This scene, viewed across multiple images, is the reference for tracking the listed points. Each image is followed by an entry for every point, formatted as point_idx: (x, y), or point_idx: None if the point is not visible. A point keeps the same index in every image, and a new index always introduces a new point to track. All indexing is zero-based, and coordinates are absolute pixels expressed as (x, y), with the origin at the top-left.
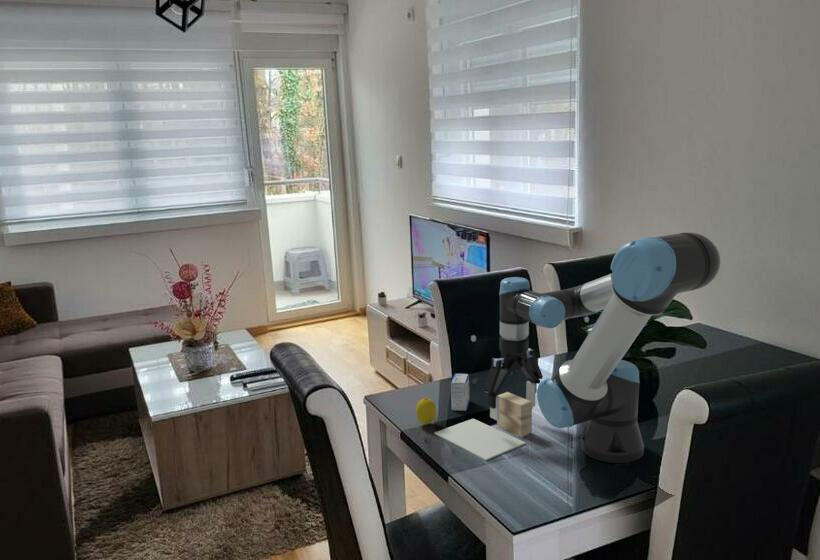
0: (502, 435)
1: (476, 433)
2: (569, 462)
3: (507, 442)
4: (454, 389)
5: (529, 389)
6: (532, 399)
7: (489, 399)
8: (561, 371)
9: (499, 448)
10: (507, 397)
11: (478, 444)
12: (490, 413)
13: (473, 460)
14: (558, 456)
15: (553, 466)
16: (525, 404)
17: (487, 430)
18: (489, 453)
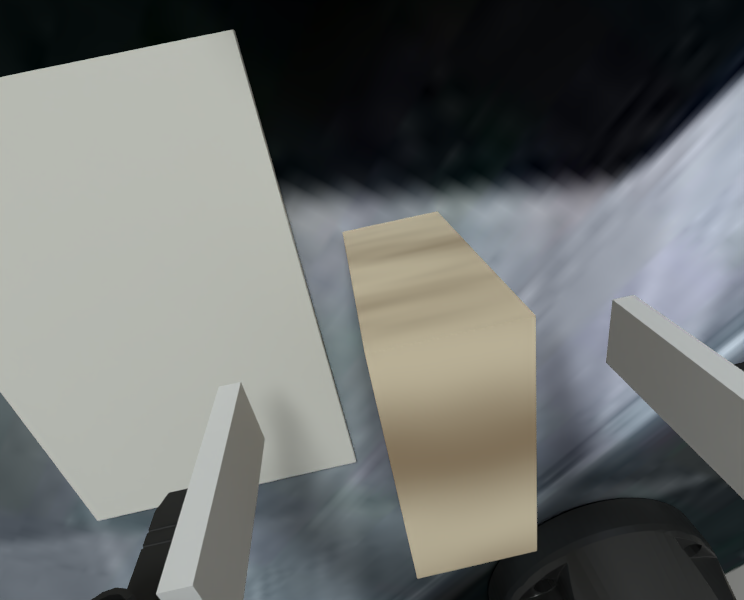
0: (295, 365)
1: (153, 283)
2: (406, 590)
3: (277, 434)
4: None
5: (717, 420)
6: (644, 391)
7: (134, 590)
8: None
9: None
10: (431, 431)
11: (113, 402)
12: (213, 412)
13: (42, 496)
14: (403, 557)
15: (340, 596)
16: (464, 561)
17: (242, 278)
18: (137, 487)
